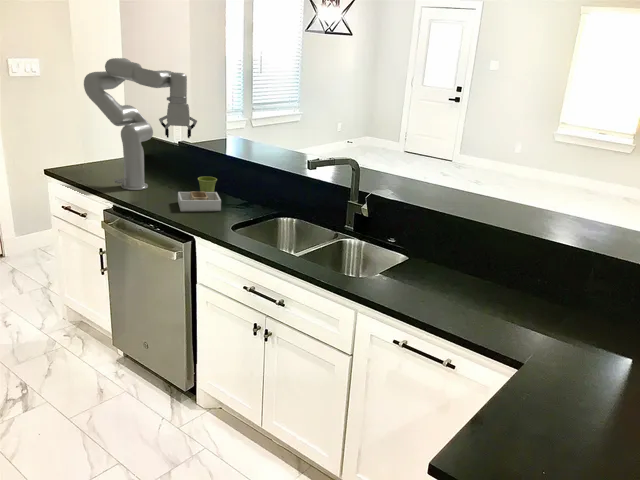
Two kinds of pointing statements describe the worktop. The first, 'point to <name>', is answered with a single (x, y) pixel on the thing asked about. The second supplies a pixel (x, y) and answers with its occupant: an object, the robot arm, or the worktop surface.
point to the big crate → (199, 202)
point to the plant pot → (207, 184)
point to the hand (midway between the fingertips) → (178, 137)
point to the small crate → (198, 196)
